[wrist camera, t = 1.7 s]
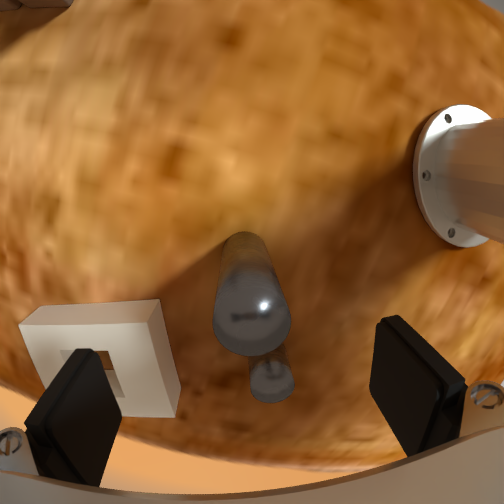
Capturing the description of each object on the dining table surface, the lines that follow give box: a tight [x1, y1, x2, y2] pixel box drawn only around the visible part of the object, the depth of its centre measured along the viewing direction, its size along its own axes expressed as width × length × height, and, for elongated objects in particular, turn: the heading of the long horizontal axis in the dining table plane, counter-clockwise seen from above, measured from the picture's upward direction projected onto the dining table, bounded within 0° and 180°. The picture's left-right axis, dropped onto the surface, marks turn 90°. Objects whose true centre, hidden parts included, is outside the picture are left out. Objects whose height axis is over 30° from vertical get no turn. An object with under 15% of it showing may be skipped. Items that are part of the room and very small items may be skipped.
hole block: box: [19, 299, 181, 418], centre depth 23 cm, size 12×9×4 cm
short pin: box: [248, 343, 295, 403], centre depth 24 cm, size 3×3×4 cm
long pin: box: [213, 232, 291, 356], centre depth 18 cm, size 3×3×11 cm
